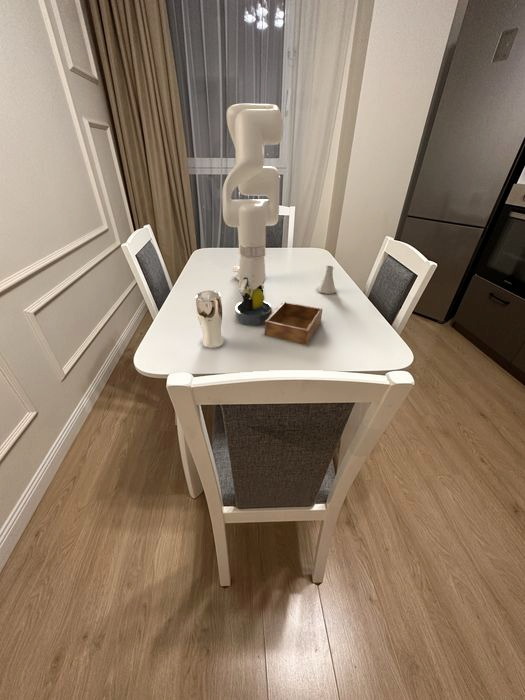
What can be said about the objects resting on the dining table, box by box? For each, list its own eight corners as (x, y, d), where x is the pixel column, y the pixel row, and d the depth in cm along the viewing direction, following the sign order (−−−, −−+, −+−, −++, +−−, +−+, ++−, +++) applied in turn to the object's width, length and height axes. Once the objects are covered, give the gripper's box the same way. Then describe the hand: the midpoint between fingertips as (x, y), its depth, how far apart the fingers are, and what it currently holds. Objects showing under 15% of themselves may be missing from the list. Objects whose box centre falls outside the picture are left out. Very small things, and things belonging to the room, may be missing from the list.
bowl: (229, 322, 95) (228, 311, 93) (246, 307, 104) (245, 297, 102) (262, 330, 91) (262, 318, 89) (277, 314, 100) (277, 303, 98)
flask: (335, 295, 114) (339, 270, 108) (317, 293, 115) (320, 269, 109) (335, 288, 120) (339, 264, 114) (318, 286, 121) (320, 263, 115)
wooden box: (264, 335, 88) (264, 321, 85) (282, 314, 100) (283, 301, 97) (306, 345, 83) (308, 331, 81) (320, 322, 95) (322, 308, 92)
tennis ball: (240, 305, 97) (239, 286, 93) (259, 302, 99) (259, 282, 95) (247, 314, 92) (247, 294, 88) (267, 310, 94) (267, 290, 90)
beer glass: (202, 336, 87) (196, 290, 79) (225, 335, 88) (221, 289, 79) (200, 349, 81) (193, 301, 73) (224, 348, 82) (220, 300, 73)
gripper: (254, 242, 93) (254, 293, 103) (227, 256, 80) (230, 313, 90) (275, 244, 90) (274, 296, 100) (251, 260, 77) (252, 318, 87)
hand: (253, 304), depth 95 cm, fingers closed on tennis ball, 7 cm apart
